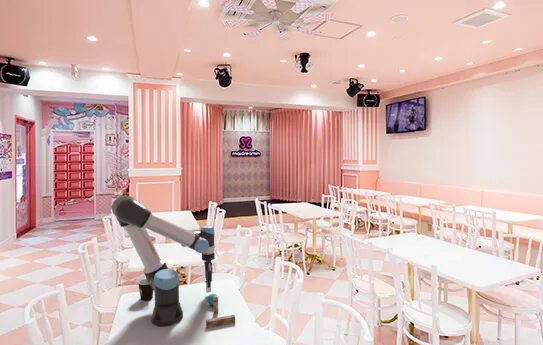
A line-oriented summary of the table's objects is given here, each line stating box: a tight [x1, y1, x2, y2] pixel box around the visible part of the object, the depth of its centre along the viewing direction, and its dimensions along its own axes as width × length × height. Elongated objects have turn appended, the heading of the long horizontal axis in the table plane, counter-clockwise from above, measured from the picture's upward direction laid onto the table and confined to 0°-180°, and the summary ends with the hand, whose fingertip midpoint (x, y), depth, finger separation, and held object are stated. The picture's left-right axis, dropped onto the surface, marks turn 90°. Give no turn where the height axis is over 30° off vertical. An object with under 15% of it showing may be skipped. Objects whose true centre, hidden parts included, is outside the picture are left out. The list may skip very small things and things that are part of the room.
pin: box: [213, 295, 219, 315], centre depth 166 cm, size 2×2×8 cm
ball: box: [206, 293, 218, 307], centre depth 175 cm, size 6×6×6 cm
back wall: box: [205, 314, 236, 329], centre depth 155 cm, size 14×2×3 cm, turn 111°
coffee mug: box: [137, 278, 154, 302], centre depth 181 cm, size 12×9×10 cm
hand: (208, 291), depth 187 cm, fingers closed
